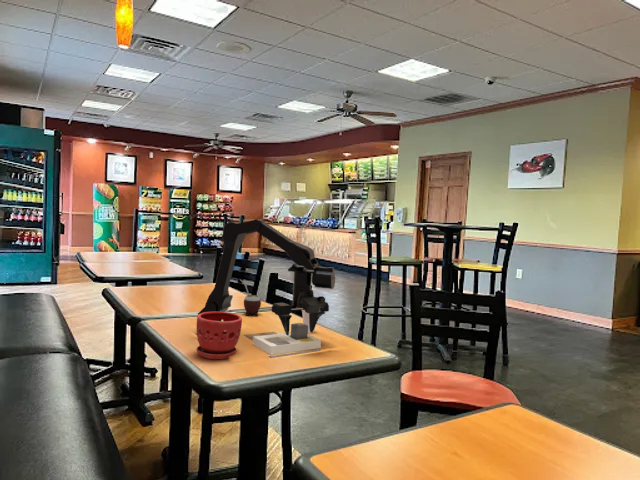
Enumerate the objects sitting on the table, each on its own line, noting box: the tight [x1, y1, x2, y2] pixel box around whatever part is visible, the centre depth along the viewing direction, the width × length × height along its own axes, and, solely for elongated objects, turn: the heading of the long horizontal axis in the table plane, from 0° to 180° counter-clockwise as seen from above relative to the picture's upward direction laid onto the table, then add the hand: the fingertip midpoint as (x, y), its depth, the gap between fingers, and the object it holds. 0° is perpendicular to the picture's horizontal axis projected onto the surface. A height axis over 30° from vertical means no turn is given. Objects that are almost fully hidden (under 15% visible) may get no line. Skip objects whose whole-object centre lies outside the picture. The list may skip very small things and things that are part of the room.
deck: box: [243, 331, 279, 341], centre depth 161 cm, size 12×9×1 cm
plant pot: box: [196, 311, 243, 360], centre depth 141 cm, size 13×13×12 cm
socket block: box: [252, 331, 322, 359], centre depth 151 cm, size 18×12×4 cm, turn 125°
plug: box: [290, 322, 309, 340], centre depth 153 cm, size 4×4×7 cm
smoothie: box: [301, 310, 316, 334], centre depth 171 cm, size 6×6×14 cm
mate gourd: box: [239, 279, 262, 317], centre depth 196 cm, size 8×8×15 cm
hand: (299, 333), depth 153 cm, fingers open, 9 cm apart
